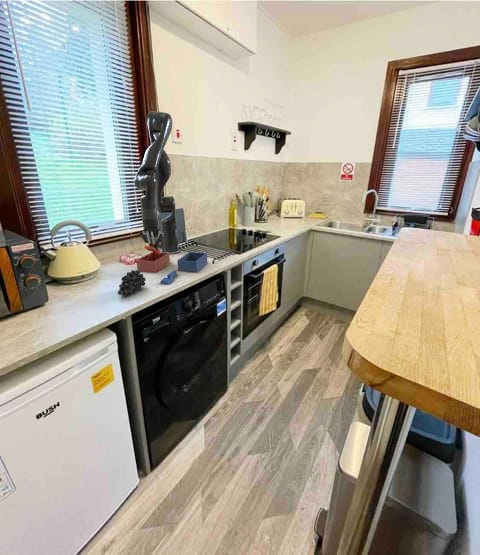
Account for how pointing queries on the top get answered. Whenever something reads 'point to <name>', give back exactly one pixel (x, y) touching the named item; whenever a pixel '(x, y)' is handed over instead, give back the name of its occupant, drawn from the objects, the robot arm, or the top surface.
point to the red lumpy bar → (152, 249)
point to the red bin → (153, 262)
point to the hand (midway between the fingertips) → (154, 250)
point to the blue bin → (192, 262)
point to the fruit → (131, 282)
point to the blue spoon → (169, 277)
